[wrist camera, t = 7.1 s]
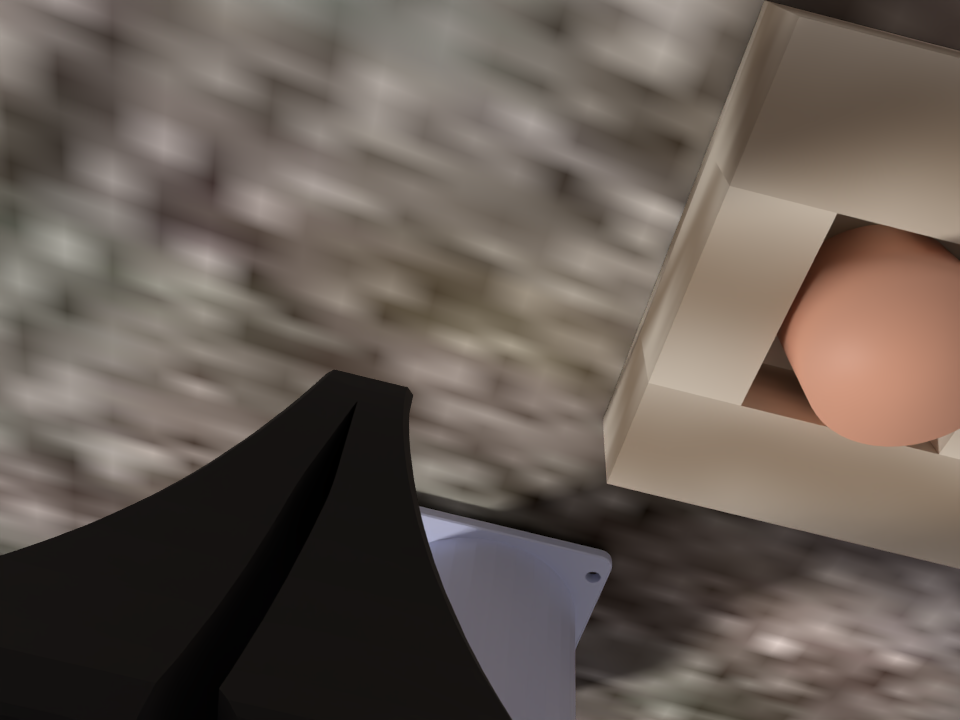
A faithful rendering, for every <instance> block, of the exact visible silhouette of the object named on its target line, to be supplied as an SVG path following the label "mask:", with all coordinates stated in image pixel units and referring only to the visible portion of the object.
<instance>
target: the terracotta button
mask: <svg viewBox="0 0 960 720" xmlns="http://www.w3.org/2000/svg"><path fill="white" fill-rule="evenodd" d="M777 336H778V338H779V341H780V343H781V345H782V347H783V349H784V352H785V354H786V356H787V358H788V360H789V362H790V364H791V366H792V368H793V370H794V372H795V374H796V376H797V378H798V380H799V383H800V385H801V387H802V389H803V391H804V393H805V395H806V397H807V399H808V401H809V403H810V405H811V407H812V409H813V410H814V412H815V414H816V415H817V416H818V418H819V419H820V420H821V421H822V422H823V423H824V424H825V425H826V426H827V427H829V428H830V429H831V430H833V431H834V432H836V433H837V434H839V435H841V436H843V437H845V438H847V439H850V440H852V441H856V442H859V443H862V444H868V445H873V446H884V447H895V446H907V445H914V444H919V443H924V442H928V441H931V440H934V439H937V438H940V437H943V436H945V435H948V434H950V433H952V432H954V431H956V430H958V429H960V261H959V260H958V259H957V258H956V257H955V256H954V255H953V254H951V253H950V252H949V251H948V250H947V249H946V248H945V247H944V246H943V245H942V244H940V243H939V242H938V241H937V240H935V239H934V238H932V237H929V236H925V235H921V234H917V233H913V232H909V231H905V230H901V229H898V228H894V227H890V226H886V225H882V224H879V225H869V226H863V227H858V228H855V229H851V230H848V231H845V232H842V233H840V234H838V235H835V236H833V237H831V238H829V239H827V240H826V241H824V242H823V243H822V245H821V247H820V249H819V251H818V253H817V255H816V257H815V259H814V261H813V263H812V265H811V267H810V269H809V271H808V273H807V275H806V277H805V279H804V281H803V283H802V285H801V287H800V289H799V291H798V293H797V295H796V297H795V299H794V301H793V303H792V305H791V307H790V309H789V311H788V313H787V315H786V317H785V319H784V321H783V323H782V325H781V327H780V329H779V331H778V333H777Z"/></svg>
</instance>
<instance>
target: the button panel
mask: <svg viewBox="0 0 960 720" xmlns="http://www.w3.org/2000/svg"><path fill="white" fill-rule="evenodd" d="M879 224H882V225H886V226H890V227H894V228H898V229H901V230H905V231H909V232H913V233H917V234H921V235H925V236H929V237H932V238H934V239H935V240H937V241H938V242H939V243H940V244H942V245H943V246H944V247H945V248H946V249H947V250H948V251H949V252H950V253H951V254H953V255H954V256H955V257H956V258H957V259H958V260H959V261H960V51H958V50H954V49H950V48H946V47H943V46H939V45H935V44H931V43H927V42H923V41H920V40H916V39H912V38H908V37H904V36H900V35H897V34H893V33H889V32H885V31H881V30H877V29H874V28H870V27H866V26H862V25H858V24H854V23H851V22H847V21H843V20H839V19H835V18H831V17H828V16H824V15H820V14H816V13H812V12H808V11H805V10H801V9H797V8H793V7H789V6H785V5H782V4H778V3H774V2H770V1H766V0H765V1H764V3H763V6H762V8H761V11H760V13H759V16H758V19H757V21H756V24H755V26H754V29H753V32H752V34H751V37H750V39H749V42H748V45H747V47H746V50H745V52H744V55H743V58H742V60H741V63H740V65H739V68H738V71H737V73H736V76H735V78H734V81H733V84H732V86H731V89H730V91H729V94H728V96H727V99H726V102H725V104H724V107H723V109H722V112H721V115H720V117H719V120H718V122H717V125H716V128H715V130H714V133H713V135H712V138H711V141H710V143H709V146H708V148H707V151H706V154H705V156H704V159H703V161H702V164H701V167H700V169H699V172H698V174H697V177H696V180H695V182H694V185H693V187H692V190H691V192H690V195H689V198H688V200H687V203H686V205H685V208H684V211H683V213H682V216H681V218H680V221H679V224H678V226H677V229H676V231H675V234H674V237H673V239H672V242H671V244H670V247H669V250H668V252H667V255H666V257H665V260H664V263H663V265H662V268H661V270H660V273H659V276H658V278H657V281H656V283H655V286H654V288H653V291H652V294H651V296H650V299H649V301H648V304H647V307H646V309H645V312H644V314H643V317H642V320H641V322H640V325H639V327H638V330H637V333H636V335H635V338H634V340H633V343H632V346H631V348H630V351H629V353H628V356H627V359H626V361H625V364H624V366H623V369H622V372H621V374H620V377H619V379H618V382H617V384H616V387H615V390H614V392H613V395H612V397H611V400H610V403H609V405H608V408H607V410H606V413H605V416H604V418H603V430H604V446H605V461H606V477H607V484H611V485H615V486H619V487H623V488H627V489H632V490H636V491H640V492H644V493H648V494H652V495H656V496H660V497H665V498H669V499H673V500H677V501H681V502H685V503H689V504H694V505H698V506H702V507H706V508H710V509H714V510H718V511H722V512H727V513H731V514H735V515H739V516H743V517H747V518H751V519H756V520H760V521H764V522H768V523H772V524H776V525H780V526H784V527H789V528H793V529H797V530H801V531H805V532H809V533H813V534H818V535H822V536H826V537H830V538H834V539H838V540H842V541H846V542H851V543H855V544H859V545H863V546H867V547H871V548H875V549H880V550H884V551H888V552H892V553H896V554H900V555H904V556H908V557H913V558H917V559H921V560H925V561H929V562H933V563H937V564H942V565H946V566H950V567H954V568H958V569H960V429H958V430H956V431H954V432H952V433H950V434H948V435H945V436H943V437H940V438H937V439H934V440H931V441H928V442H924V443H919V444H914V445H907V446H895V447H884V446H873V445H868V444H862V443H859V442H856V441H852V440H850V439H847V438H845V437H843V436H841V435H839V434H837V433H836V432H834V431H833V430H831V429H830V428H829V427H827V426H826V425H825V424H824V423H823V422H822V421H821V420H820V419H819V418H818V416H817V415H816V414H815V412H814V410H813V409H812V407H811V405H810V403H809V401H808V399H807V397H806V395H805V393H804V391H803V389H802V387H801V385H800V383H799V380H798V378H797V376H796V374H795V372H794V370H793V368H792V366H791V364H790V362H789V360H788V358H787V356H786V354H785V352H784V349H783V347H782V345H781V343H780V341H779V338H778V336H777V333H778V331H779V329H780V327H781V325H782V323H783V321H784V319H785V317H786V315H787V313H788V311H789V309H790V307H791V305H792V303H793V301H794V299H795V297H796V295H797V293H798V291H799V289H800V287H801V285H802V283H803V281H804V279H805V277H806V275H807V273H808V271H809V269H810V267H811V265H812V263H813V261H814V259H815V257H816V255H817V253H818V251H819V249H820V247H821V245H822V243H823V242H824V241H826V240H827V239H829V238H831V237H833V236H835V235H838V234H840V233H842V232H845V231H848V230H851V229H855V228H858V227H863V226H869V225H879Z"/></svg>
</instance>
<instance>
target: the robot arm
mask: <svg viewBox="0 0 960 720" xmlns="http://www.w3.org/2000/svg"><path fill="white" fill-rule="evenodd" d="M412 398H413V394H412V393H411V391H410V390H409V388H408V387H404V386H400V385H396V384H392V383H387V382H383V381H379V380H375V379H371V378H367V377H363V376H359V375H355V374H350V373H346V372H342V371H338V370H332V371H331V372H329V373H327V374H326V375H325V376H323V377H322V378H321V379H320V380H319V381H318V382H317V383H316V384H315V385H313V386H312V387H311V388H310V389H309V390H308V391H307V392H305V393H304V394H303V395H302V396H301V397H300V398H298V399H297V400H296V401H295V402H293V403H292V404H291V405H290V406H289V407H287V408H286V409H285V410H284V411H282V412H281V413H280V414H278V415H277V416H276V417H274V418H273V419H272V420H270V421H269V422H268V423H267V424H265V425H264V426H263V427H261V428H260V429H259V430H257V431H256V432H255V433H253V434H252V435H250V436H249V437H248V438H246V439H245V440H243V441H242V442H240V443H239V444H237V445H236V446H234V447H233V448H231V449H230V450H228V451H227V452H225V453H224V454H222V455H221V456H219V457H218V458H216V459H215V460H213V461H212V462H210V463H208V464H207V465H205V466H203V467H202V468H200V469H198V470H197V471H195V472H194V473H192V474H190V475H188V476H187V477H185V478H183V479H181V480H180V481H178V482H176V483H174V484H172V485H170V486H168V487H167V488H165V489H163V490H161V491H159V492H157V493H155V494H153V495H151V496H149V497H147V498H145V499H143V500H141V501H139V502H137V503H135V504H133V505H131V506H128V507H126V508H124V509H122V510H120V511H117V512H115V513H113V514H111V515H108V516H106V517H104V518H102V519H100V520H97V521H95V522H93V523H90V524H88V525H85V526H83V527H80V528H77V529H75V530H72V531H70V532H67V533H64V534H62V535H59V536H57V537H54V538H51V539H48V540H45V541H43V542H40V543H37V544H34V545H31V546H28V547H25V548H23V549H20V550H17V551H13V552H10V553H7V554H4V555H1V556H0V720H576V684H575V649H576V647H577V645H578V642H579V640H580V638H581V636H582V634H583V631H584V629H585V627H586V625H587V623H588V620H589V618H590V616H591V614H592V612H593V609H594V607H595V605H596V603H597V601H598V598H599V596H600V594H601V592H602V590H603V587H604V585H605V583H606V581H607V579H608V576H609V574H610V572H611V570H612V559H611V556H610V555H609V554H608V553H607V552H606V551H603V550H600V549H596V548H592V547H588V546H584V545H579V544H575V543H571V542H567V541H563V540H559V539H554V538H550V537H546V536H542V535H538V534H534V533H529V532H525V531H521V530H517V529H513V528H508V527H504V526H500V525H496V524H492V523H488V522H483V521H479V520H475V519H471V518H467V517H463V516H458V515H454V514H450V513H446V512H442V511H437V510H433V509H429V508H425V507H421V506H419V503H418V499H417V494H416V488H415V483H414V477H413V469H412V461H411V454H410V442H409V412H410V408H411V403H412ZM589 572H596V574H590V573H589Z"/></svg>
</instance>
